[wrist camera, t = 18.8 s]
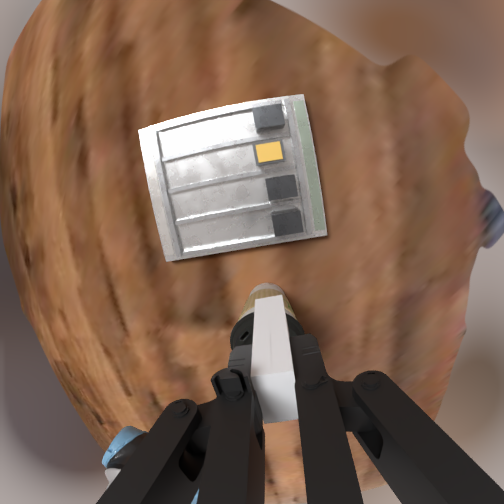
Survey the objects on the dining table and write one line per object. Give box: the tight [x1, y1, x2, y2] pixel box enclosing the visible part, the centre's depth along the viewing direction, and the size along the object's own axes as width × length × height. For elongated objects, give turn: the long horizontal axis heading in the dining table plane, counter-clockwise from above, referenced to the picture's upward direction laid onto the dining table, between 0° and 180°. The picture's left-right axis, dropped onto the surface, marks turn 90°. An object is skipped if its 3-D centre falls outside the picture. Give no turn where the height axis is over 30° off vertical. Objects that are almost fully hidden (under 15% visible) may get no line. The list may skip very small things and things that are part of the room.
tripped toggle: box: [252, 139, 286, 166], centre depth 37 cm, size 4×3×4 cm
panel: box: [139, 94, 327, 262], centre depth 40 cm, size 26×22×6 cm
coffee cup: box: [230, 283, 305, 350], centre depth 41 cm, size 10×10×15 cm
